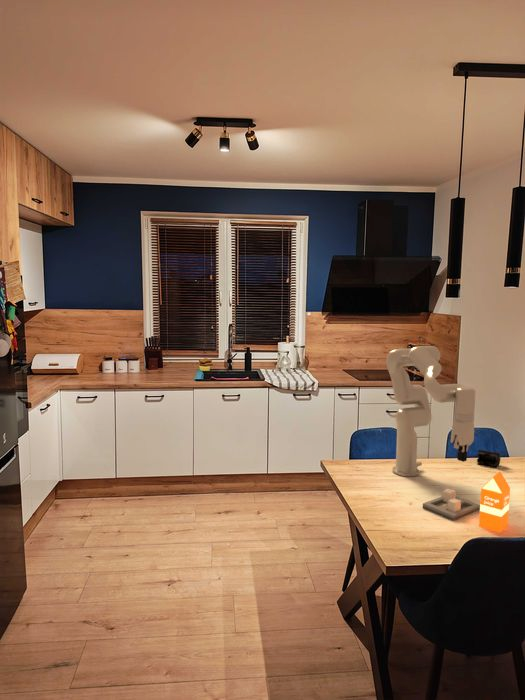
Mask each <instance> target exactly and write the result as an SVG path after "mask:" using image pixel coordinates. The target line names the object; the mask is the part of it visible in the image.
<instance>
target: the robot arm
mask: <svg viewBox="0 0 525 700" xmlns="http://www.w3.org/2000/svg"><path fill="white" fill-rule="evenodd" d="M440 360H441V352H440V349H438V348H437V347H436V346H435V345H419V346H418V345H417V346H414V347H412V348H411V347H409V348H397V349H393V350H391V351H390V352H389V353H388V354H387V356H386V367H387V372H388V373H389V376H390V380H391V384H392V391H393V394H394V399H395V402H396V403H397V404H398V405H400V406H411V407H404V408H400V409H398V410H397V411H396V412H395V413H396V414H395V424H396V452H395V453H396V454H395V466H393V467H392V468H391V469H392V473H394V474H396V475H398V476H402V477H416V476H418V475H420V470H419V468H418V467H420V466H422V464H423V463H422V462H421V461H417V459H418V435H417V433H416V431H415V428H420V427H428V426H429V425H430V424H431V422H432V419H433V418H432V417H433V416H432V411H431V405H430V401H429V396H430V397H431V398H432V399H433V400H434V401H435V402H437V403H452V402H453V403H454V417H453V418H454V420H453V423H452V425H451V427H452V428H451V433H450V434H451V435H450V444H451V445H453V448H454V449H456V451H457V456H456V457H457V459H456V460H458V461H460V462H463V463H464V462H467V460H468V459H467V458H468V450H469V447H470V446H471V445H472V443H473V442H474V441H475V440H474V439H475V409H476V405H475V404H476V390H475V388H472V387H468V386H467V387H466V386H464V385H462V384H460V383H446V384H441V383H439V382H438V381H437V379H436V378H437V377H438V376H439V375H440V374H441V371H442V370H443V369H442V365H441V364H440V363H439V361H440ZM412 366H414V367H415V368H417V370H418V371H419V372H420V373H421V374H422V376H424V379H423V384H424V386H422V385H421V384H411V379H410V376H409V373H408V372H407V371H406V370H405V369H404V368H403V367H412ZM428 394H429V396H428ZM412 405H413V406H412Z"/></svg>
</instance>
